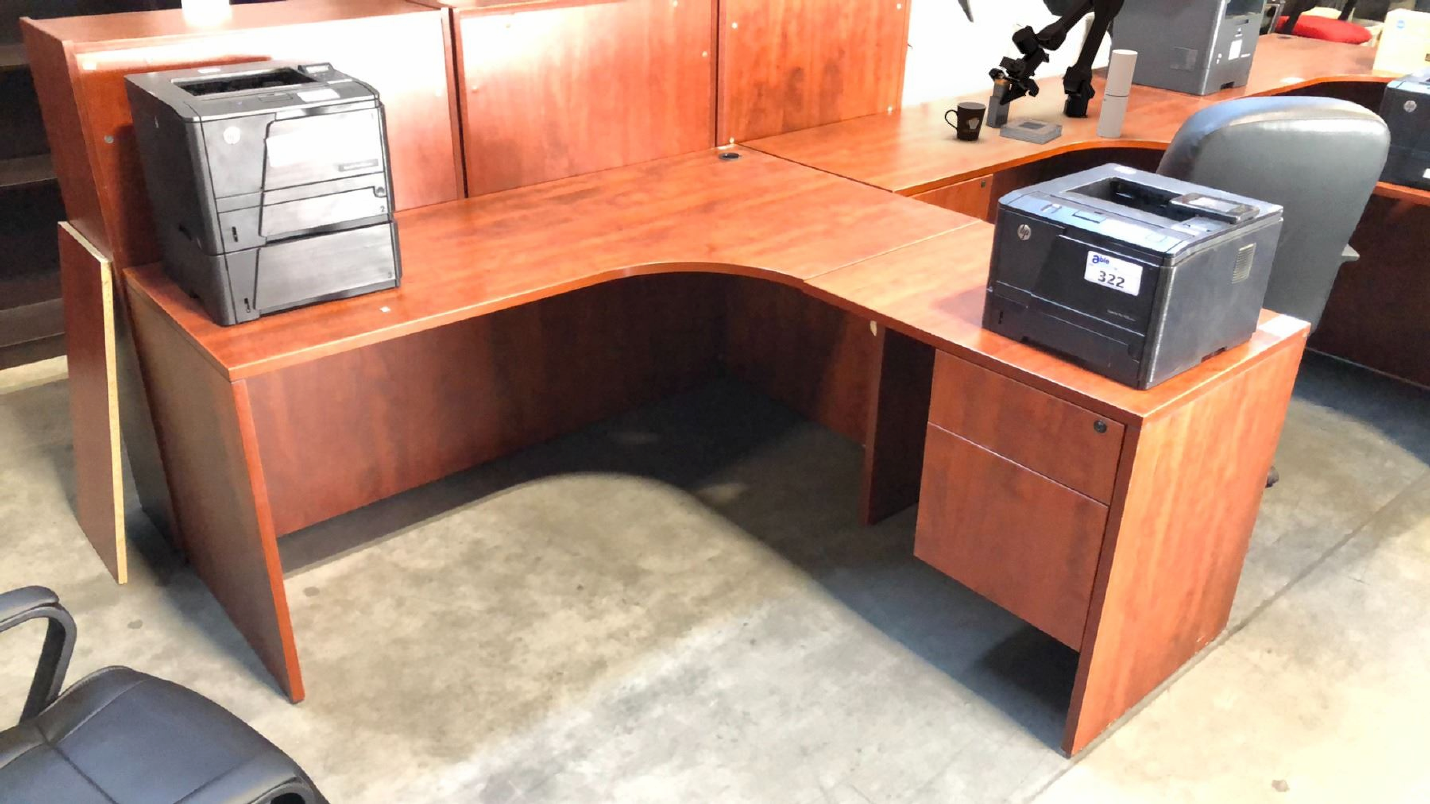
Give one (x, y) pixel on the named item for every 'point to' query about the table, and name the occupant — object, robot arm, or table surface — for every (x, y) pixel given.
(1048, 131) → the silver square socket base
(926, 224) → the table surface
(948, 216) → the table surface
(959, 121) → the coffee mug
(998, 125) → the grey orange-tipped tall block
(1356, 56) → the table surface
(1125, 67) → the cylindrical container
